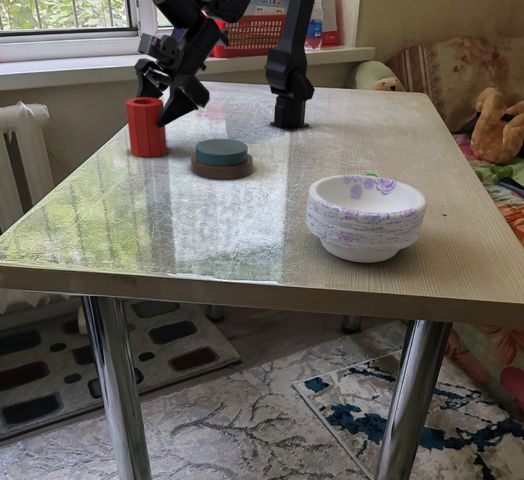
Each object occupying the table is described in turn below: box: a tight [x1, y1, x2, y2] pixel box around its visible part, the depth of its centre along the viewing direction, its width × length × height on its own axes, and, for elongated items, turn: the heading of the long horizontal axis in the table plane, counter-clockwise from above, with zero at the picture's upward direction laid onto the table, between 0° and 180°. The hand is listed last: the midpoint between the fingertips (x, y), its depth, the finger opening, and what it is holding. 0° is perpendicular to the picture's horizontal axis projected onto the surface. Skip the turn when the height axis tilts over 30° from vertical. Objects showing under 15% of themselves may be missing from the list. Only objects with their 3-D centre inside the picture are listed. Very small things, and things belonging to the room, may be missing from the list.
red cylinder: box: [125, 97, 167, 158], centre depth 102 cm, size 7×7×9 cm
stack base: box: [190, 138, 254, 181], centre depth 97 cm, size 11×11×4 cm
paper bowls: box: [305, 174, 428, 264], centre depth 73 cm, size 15×15×8 cm
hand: (145, 120), depth 101 cm, fingers open, 9 cm apart
